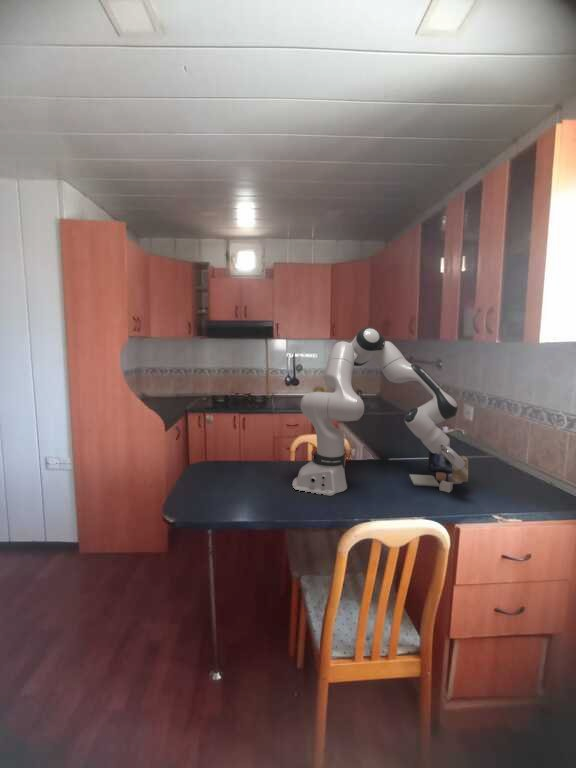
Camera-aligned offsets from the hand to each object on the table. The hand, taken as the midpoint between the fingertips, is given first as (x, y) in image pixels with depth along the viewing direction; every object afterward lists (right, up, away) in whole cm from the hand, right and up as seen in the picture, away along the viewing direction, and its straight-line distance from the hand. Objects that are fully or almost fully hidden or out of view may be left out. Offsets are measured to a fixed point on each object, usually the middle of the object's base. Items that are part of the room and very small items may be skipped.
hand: (461, 467), depth 145 cm
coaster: (-11, -9, +12) cm, 18 cm away
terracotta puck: (-3, -9, +13) cm, 16 cm away
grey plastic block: (+2, -9, +11) cm, 15 cm away
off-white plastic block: (-5, -10, +3) cm, 12 cm away
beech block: (0, -5, +1) cm, 5 cm away
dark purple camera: (+2, -7, +25) cm, 26 cm away
